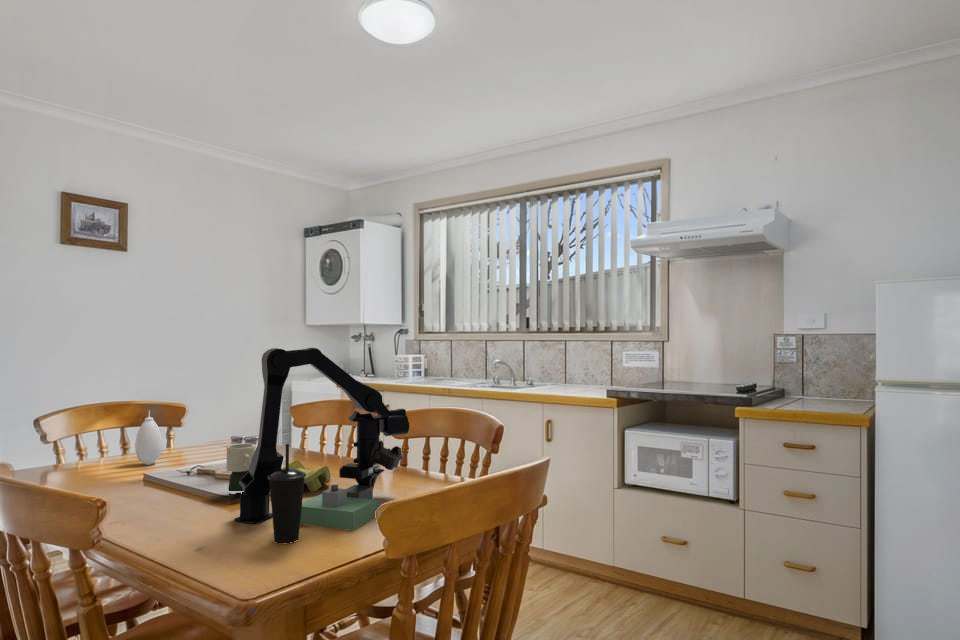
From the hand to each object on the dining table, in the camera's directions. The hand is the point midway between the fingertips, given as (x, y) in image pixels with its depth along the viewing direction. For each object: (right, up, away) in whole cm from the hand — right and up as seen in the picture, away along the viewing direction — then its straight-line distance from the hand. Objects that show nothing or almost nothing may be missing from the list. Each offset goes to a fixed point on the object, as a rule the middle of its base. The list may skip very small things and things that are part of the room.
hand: (367, 499), depth 156 cm
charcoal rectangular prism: (-2, -1, -6) cm, 6 cm away
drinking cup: (-12, -1, -28) cm, 31 cm away
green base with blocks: (-3, -1, -11) cm, 12 cm away
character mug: (-36, -1, +8) cm, 37 cm away
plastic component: (-21, -2, +16) cm, 27 cm away
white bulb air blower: (-80, -2, +45) cm, 92 cm away
